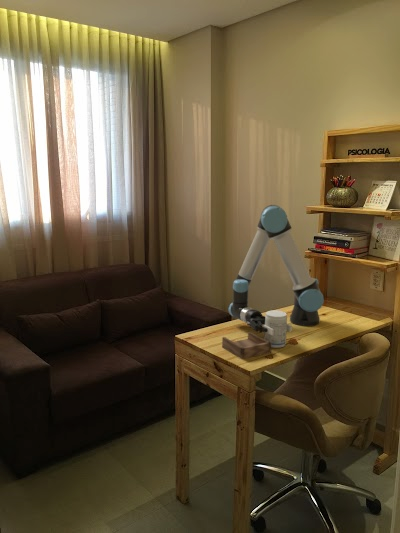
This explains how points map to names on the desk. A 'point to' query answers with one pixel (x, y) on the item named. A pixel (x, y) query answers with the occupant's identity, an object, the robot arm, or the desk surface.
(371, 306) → the desk surface
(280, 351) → the desk surface
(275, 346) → the supplement tub
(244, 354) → the tray
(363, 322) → the desk surface
